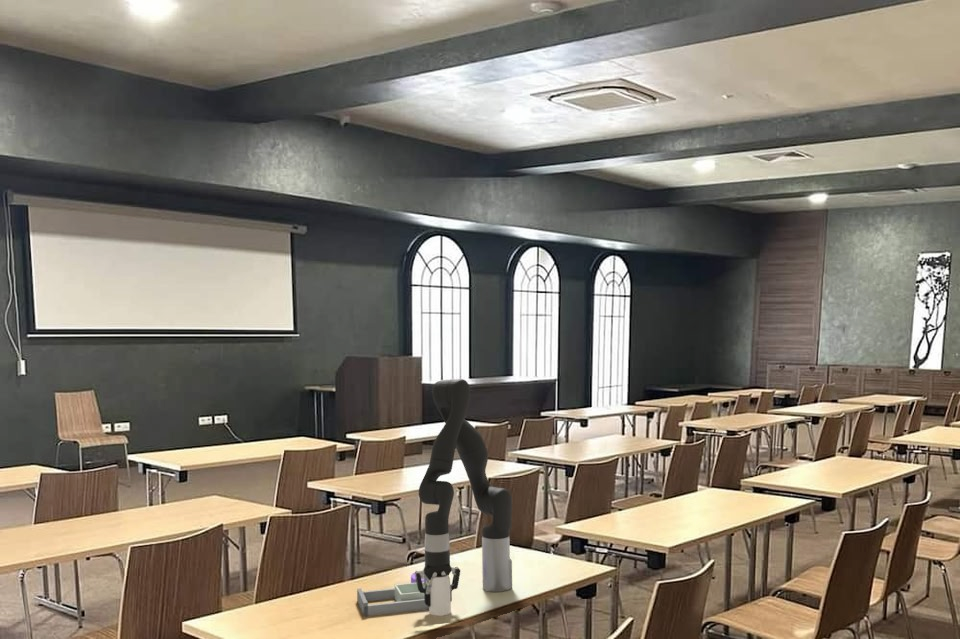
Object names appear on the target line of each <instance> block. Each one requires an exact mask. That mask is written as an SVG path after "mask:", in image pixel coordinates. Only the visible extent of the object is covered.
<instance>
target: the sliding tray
mask: <svg viewBox="0 0 960 639" xmlns="http://www.w3.org/2000/svg"><path fill="white" fill-rule="evenodd" d="M426 581H427V576H426V575H425V574H424V582H422V585H423V588H425V585H426ZM394 588H395V598H394V600H395V601H394V602H399V601H408V600H417V599H424V593H420V592H419V590H418V587H417V583H411V582H408V583H400V584H398V583H397V584H394Z"/></svg>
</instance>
